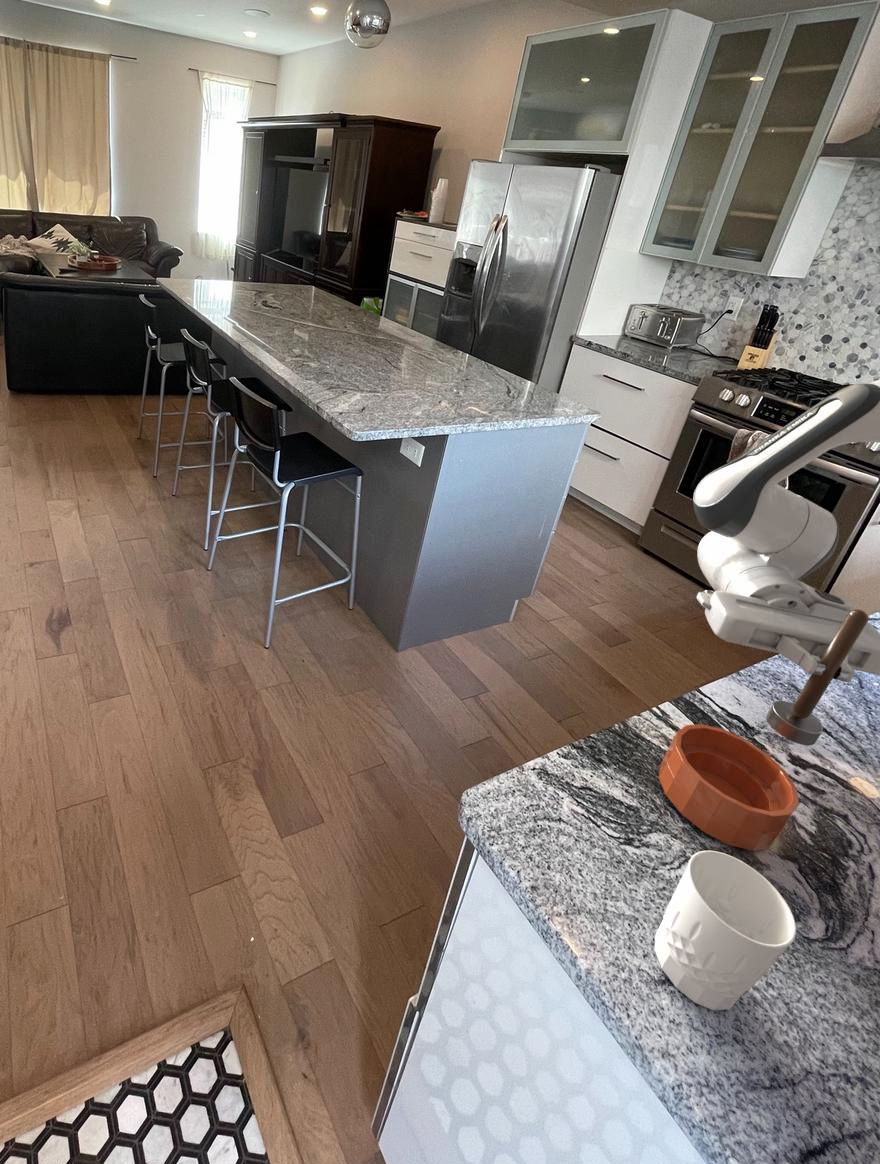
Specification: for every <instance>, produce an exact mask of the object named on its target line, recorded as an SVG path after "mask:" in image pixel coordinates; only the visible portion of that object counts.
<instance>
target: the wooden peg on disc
mask: <svg viewBox="0 0 880 1164" xmlns="http://www.w3.org/2000/svg"><path fill="white" fill-rule="evenodd" d="M869 619H870V617H869V615H868V613H867V612H866V611H864V610H862V609H857V608H855V609H854V608H853V610H851V611H850V612H849V613H848V614H847V616H846V618H845V619H844V621H843V623H842V624H841V626H840V628H839V629H838V631H837V633H836V634H835V636H834V638H833V639H832V641H831V643H830V644H829V646H828V648H827V649H826V651H825V653H824V654H823V656H822V658H821V661H823V662H824V663H825V664H826V669H825V670H824V671H822V672H823V674H822V675H821V676H817V675H812V674H810V676H809V678H808V679H807V681H806V683H805V684H804V686H803V688H802V689H801V691H800V693H799V695H798V696H797V697H796V700H794V703H792V702H790V701H786V700H776V701H774V702H773V703H772V704H771V706H770V707H769V710H768V711H767V713H766V714H765V715H766V716H765V719H766V722H767V723H768V725H769V726H770V727H771V728H772V730H774V731H775V732H776V733H777V734H778V735H780V736H782V737H783V738H785V739H787V740H788V741H790V742H793V743H795V744H798V745H801V746H808V747H809V746H813V745H815V744H816V743H817V741H818V739H819V738H820V736H821V735H822V733H823V732H824V727H823V724H822V722H821V721H820V720H819V719H818V718H817V717H816V716H815V715H814V714H812V713H813V711H814V710H815V709H816V707H817V705H818V704H819V702H820V701H821V698H822V697H823V695H824V694H825V692H826V690H827V689H828V687H829V686H830V684H831V682H832V681H833V680H834V679H833V677H834V676H835V674H836V673H837V671H838V669H839V668H840V666H841V664H842V663H843V661H844V660H845V658H846V656H847V655H848V653H849V652H850V650H851V648H852V647H853V645H854V643H855V642H856V640H857V639H858V637H859V635H860V634H861V632H862V631H863V629H864V627H865V626H866V624H867V622H868V623H869Z"/></svg>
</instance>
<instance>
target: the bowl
mask: <svg viewBox="0 0 880 1164" xmlns="http://www.w3.org/2000/svg"><path fill="white" fill-rule="evenodd" d="M658 770H659V771H658V780H659V782H660V785H661V787H662V789H663V793H664V795H665V796H666V797H667V798H668V800H669V801H670V802H671V803H672V804H673V806H674V807H675V808H676V810H677V811H678V812H679V813H680V814H681V815H682V817H684V818H686V820H688V821H689V822H691V823H692V824H693V825H694V826H695V827H697V828H698V829H699V830H700V831H702V832H703V833H705V834H707V835H709V836H711V837H713V838H714V839H716V840H718V841H720V842H722V843H724V844H726V845H728V846H731V847H735V848H736V847H737V848H740V849H744V850H748V851H752V852H754V851H758V850H765V849H770V848H771V847H772V846H773V845H774V843H775V842H776V841H777V840H778V838H779V837H780V835H781V833H783V831H784V829H785V827H786V826H787V824H788V823H789V821H790V819H791V818H792V816H793V815H794V814H795V812H796V811H797V809H798V808H799V806H800V800H799V794H798V788H797V787H796V785H795V783H794V782H793V781H792V778H790V776H789V775H788V773H787V772H786V770H785V769H784V768H783V767H781V765H780V764H778V762H776V761H775V759H773V758H772V757H771V756H770V755H769V754H768V753H767V752H765V751H763V750H762V749H760V748H759V747H757V746H756V745H754V744H753V743H751V742H750V741H748V740H747V739H745V738H743V737H741V736H739V735H736V734H734V733H733V732H730V731H728V730H725V729H723V728H719V727H716V726H711V725H708V724H703V723H698V724H687V725H684V726H683V727H681V729H679V730H678V731H676V733H675V734H674V737H673V739H672V740H671V742H670V744H669V746H668V748H667V750H666V752H665V753H664V756H663V759H662V760H661V762H660V764H659V769H658Z"/></svg>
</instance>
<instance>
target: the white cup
mask: <svg viewBox="0 0 880 1164" xmlns="http://www.w3.org/2000/svg"><path fill="white" fill-rule="evenodd" d="M796 937H797V924H796V920H795V917H794V914H793V912H792V910H791V908H790V906H789V904H788V902H787V901H786V899H784V897H783V896H782V895H781V893H780V892H779V890H778V889H777V888H776V887H775V886H774V885H773V884H772V883H771V882H770V881H769V880H768V879H767V878H766V877H764V875H763V874H761V873H760V872H759V871H758V870H756V869H755V868H753V867H752V866H750V865H749V864H747V863H746V862H744V861H742V860H740V859H738V858H737V857H735V856H732V855H730V854H726V853H724V852H720V851H717V850H702V851H698V852H695V853H694V854H693V855H692V856H691V857H690V859H689V860H688V863H687V865H686V866H685V869H684V871H683V873H682V875H681V877H680V879H679V881H678V883H677V885H676V887H675V889H674V891H673V894H672V896H671V898H670V901H669V903H668V905H667V907H666V909H665V911H664V914H663V918H662V921H661V923H660V925H659V927H658V928H657V931H656V932H655V936H654V953H655V955H656V958H657V960H658V963H659V965H660V968H661V970H662V972H664V974H665V975H666V977H667V978H668V979H669V980H670V982H671V984H672V985H673V986H674V987H675V988H676V989H677V990H679V992H680V993H682V994H683V995H685V996H686V997H687V998H688V999H690V1000H691V1001H692V1002H693V1003H695V1004H697V1005H699V1006H702V1007H704V1008H706V1009H709V1010H712V1011H724V1010H730V1009H731V1008H732V1007H733V1006H734V1005H735V1004H736V1003H737V1001H738V1000H739V999H740V998H741V997H742V996H744V994H745V993H746V992H748V991H750V990H751V989H752V988H753V987H754V985H756V984H757V983H758V982H759V981H760V979H761V978H762V977H763V976H764V975H766V974H767V972H769V970H770V969H771V968H772V966H773V965H774V964H775V963H776V962H777V961H778V959H779V958H780V957H781V956H782V955H783V954H784V953H785V951H786V950H788V948H789V947H790V946H791V945H792V944H793V942H794V941H795V939H796Z"/></svg>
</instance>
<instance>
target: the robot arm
mask: <svg viewBox="0 0 880 1164" xmlns="http://www.w3.org/2000/svg"><path fill="white" fill-rule="evenodd" d="M853 443H878V444H879V443H880V378H879V379H877V380H873V381H871V382H868V383H853V384H851V385H848V386H846V387H843V388H840V389H839V390H837V391H836V392H834V393H832V394H830V395H829V396H827V397H825V398H824V399H822V400H821V401H819V402H817V404H815V405H814V406H812V407H810V408H809V409H807V410H806V411H805V412H803V413H802V414H800V415H799V416H796V418H795V419H793V420H792V421H790V422H788V423H787V424H786V425H784V426H783V427H782V428H780V429H779V430H777V431H776V432H774V433H773V434H772V435H770V436H769V437H767V438H766V439H764V440H762V441H761V442H760V443H759V444H757V445H755V446H754V447H752V448H751V449H750V450H748V451H747V452H746V453H744V454H743V455H741V456H739V457H738V458H735V459H734V460H732V461H730V462H728V463H726V464H724V465H722V466H720V467H718V468H716V469H714V470H712V471H711V472H709V473H708V474H706V475H705V476H704V477H703V478H702V479H701V480H700V481H699V483H698V484H697V486H696V487H695V489H694V492H693V496H692V497H693V498H692V501H693V502H692V503H693V509H694V513H695V517H696V519H697V521H698V523H699V525H700V526H701V527H703V528H704V529H706V530H709V532H708V533H706V534H705V535H704V536H703V537H702V538H701V540H700V541H699V543H698V546H697V554H696V555H697V562H698V563H697V564H698V566H699V568H700V570H701V572H702V574H703V576H704V577H705V579H706V580H707V582H708V583H709V585H710V586H711V587H712V589H713V590H711V589H704V591H699V592H697V593H696V599H697V601H698V602H699V604H700V605H701V607H703V608H705V609H704V615H705V618H706V620H707V623H708V625H709V626H710V627H709V628H711V630H712V632H713V633H714V635H715V636H717V637H718V638H719V639H721V640H723V641H724V642H727V643H730V644H736V645H741V646H745V647H749V648H753V649H758V650H764V651H768V652H772V653H777V654H780V656H783V657H784V658H785V659H788V660H789V661H791V662H792V663H794V664H795V665H797V666H799V668H801V670H802V671H803V672H804V673H805V674H808V675H817V676H821V675H822V674H823V672H822V671H824V670H825V669H826V664H825V663H824V662H823V661H821V658H822V656H823V654H824V653H825V651H826V649H827V648H828V646H829V644H830V643H831V641H832V639H833V638H834V636H835V634H836V633H837V631H838V629H839V628H840V626H841V624H842V623H843V621H844V619H845V618H846V616H847V614H848V613H849V612H850V611H851V610H854V606H853V605H852V604H851V603H850V602H849V601H848V600H846V599H845V598H842V597H839V596H836V595H834V594H831V593H828V592H826V591H822V590H821V589H817V588H815V587H813V586H810V585H808V584H806V583H805V582H803V581H802V579H803V578H805V577H807V576H808V575H810V574H811V573H813V572H815V571H817V570H818V569H819V568H821V567H822V566H823V565H824V564H825V563H826V562H827V561H828V560H829V559H830V558H831V557H832V555H833V554H834V552H835V551H836V549H837V546H838V543H839V538H840V528H839V523H838V520H837V518H836V517H835V515H834V514H833V513H832V512H830V511H829V510H827V509H825V508H823V507H822V506H819V505H818V504H816V503H814V502H813V501H811V500H809V499H807V498H805V497H803V496H801V495H799V494H796V493H794V492H793V491H791V490H789V489H787V488H786V487H783V486H782V485H780V482H782V481H783V480H785V479H787V478H788V477H789V476H791V475H793V474H794V473H796V472H797V471H799V470H800V469H802V468H804V467H805V466H806V465H808V464H809V463H811V462H812V461H814V460H816V459H817V458H818V457H820V456H821V455H823V454H825V453H827V452H829V451H830V450H832V449H834V448H837V447H840V446H843V445H847V444H853ZM855 671H859V672H863V673H869V674H872V675H877V676H880V631H878V629H876V628H875V626H873V625H872V624H871V623H870V622H869V621H868V622H867V624H866V626H865V627H864V629H863V631H862V632H861V634H860V635H859V637H858V639H857V640H856V642H855V643H854V645H853V647H852V648H851V650H850V652H849V653H848V655H847V656H846V658H845V660H844V661H843V663H842V664H841V666H840V668H839V669H838V671H837V673H836V674H835V676H834V677H833V679H832V680H835V681H840V682H844V683H850V682H852V680H853V678H854V676H855V675H856V672H855Z"/></svg>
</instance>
